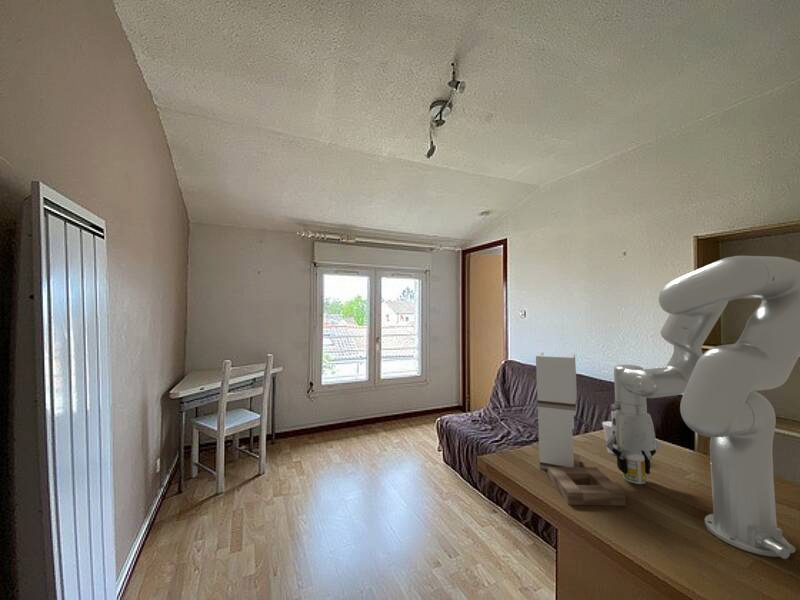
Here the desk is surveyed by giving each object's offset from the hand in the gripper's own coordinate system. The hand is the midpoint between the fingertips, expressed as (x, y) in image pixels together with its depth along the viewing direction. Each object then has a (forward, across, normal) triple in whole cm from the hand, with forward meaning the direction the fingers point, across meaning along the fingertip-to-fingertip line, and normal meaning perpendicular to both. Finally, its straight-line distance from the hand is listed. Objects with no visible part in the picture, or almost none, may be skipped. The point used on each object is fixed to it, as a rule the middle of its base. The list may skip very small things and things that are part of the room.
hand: (633, 471), depth 96 cm
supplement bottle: (+3, 0, 0) cm, 3 cm away
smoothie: (+3, +5, +19) cm, 20 cm away
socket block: (+3, -17, -6) cm, 18 cm away
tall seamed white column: (+3, -17, +9) cm, 20 cm away
